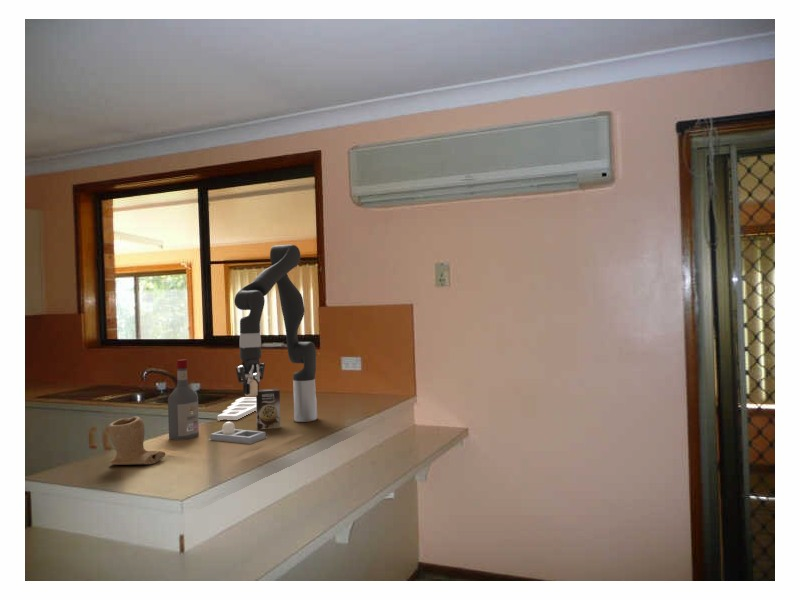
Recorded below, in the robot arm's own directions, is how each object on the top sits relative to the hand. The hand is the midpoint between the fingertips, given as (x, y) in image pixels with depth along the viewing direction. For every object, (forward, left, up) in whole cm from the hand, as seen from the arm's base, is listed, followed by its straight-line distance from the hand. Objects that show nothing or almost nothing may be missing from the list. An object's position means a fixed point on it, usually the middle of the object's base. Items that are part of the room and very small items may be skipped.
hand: (251, 393), depth 205 cm
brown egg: (0, 0, -1) cm, 1 cm away
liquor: (+5, -28, -18) cm, 33 cm away
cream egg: (+1, -10, -16) cm, 19 cm away
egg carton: (+1, -6, -18) cm, 19 cm away
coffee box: (-18, -7, -18) cm, 26 cm away
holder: (-48, -46, -19) cm, 70 cm away
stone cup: (+34, -20, -18) cm, 43 cm away
